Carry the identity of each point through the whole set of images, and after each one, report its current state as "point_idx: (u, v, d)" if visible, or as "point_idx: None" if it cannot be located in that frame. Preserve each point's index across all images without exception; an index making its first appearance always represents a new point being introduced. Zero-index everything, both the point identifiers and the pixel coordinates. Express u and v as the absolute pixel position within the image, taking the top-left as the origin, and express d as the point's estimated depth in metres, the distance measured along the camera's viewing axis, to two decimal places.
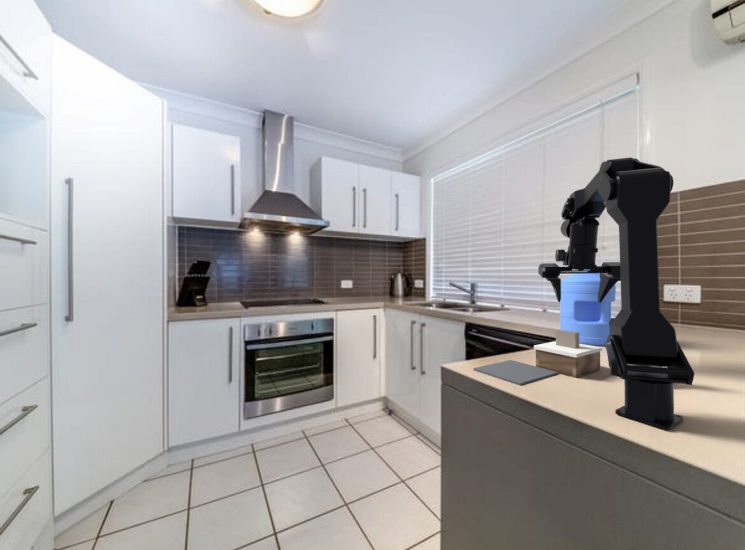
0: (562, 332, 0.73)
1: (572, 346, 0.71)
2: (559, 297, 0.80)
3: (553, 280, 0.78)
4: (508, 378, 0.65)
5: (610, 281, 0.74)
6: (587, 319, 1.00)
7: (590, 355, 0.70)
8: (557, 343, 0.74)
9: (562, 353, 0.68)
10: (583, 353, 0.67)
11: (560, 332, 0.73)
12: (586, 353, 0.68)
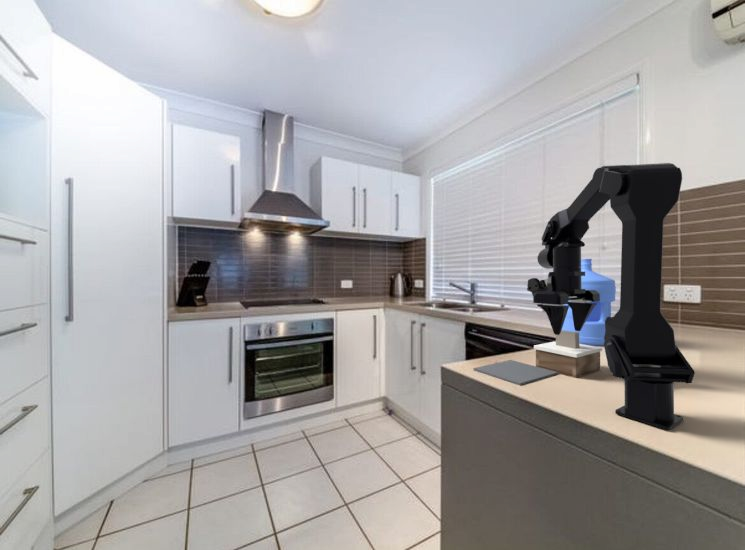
0: (562, 332, 0.73)
1: (572, 346, 0.71)
2: (561, 328, 0.70)
3: (564, 307, 0.67)
4: (508, 378, 0.65)
5: (592, 306, 0.73)
6: (587, 319, 1.00)
7: (590, 355, 0.70)
8: (557, 343, 0.74)
9: (562, 353, 0.68)
10: (583, 353, 0.67)
11: None
12: (586, 353, 0.68)
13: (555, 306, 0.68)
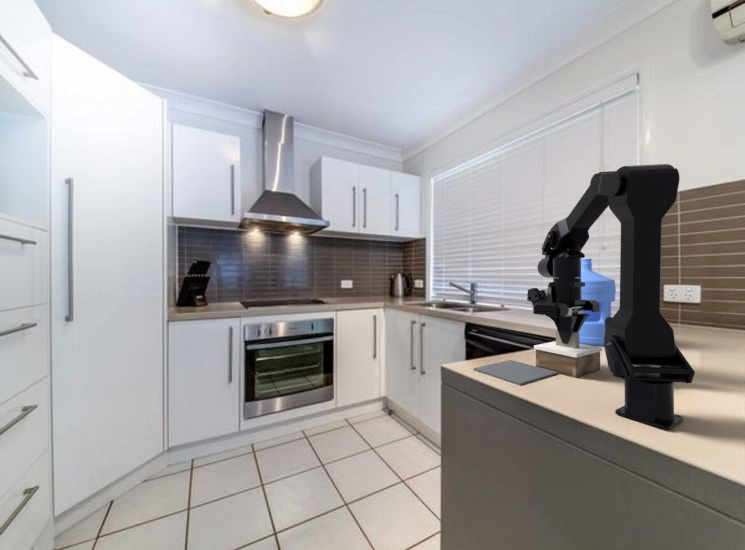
0: None
1: (572, 346, 0.71)
2: (569, 338, 0.71)
3: (573, 317, 0.69)
4: (508, 378, 0.65)
5: (584, 317, 0.72)
6: (587, 319, 1.00)
7: (590, 355, 0.70)
8: (557, 343, 0.74)
9: (562, 353, 0.68)
10: (583, 353, 0.67)
11: None
12: (586, 353, 0.68)
13: (564, 316, 0.69)
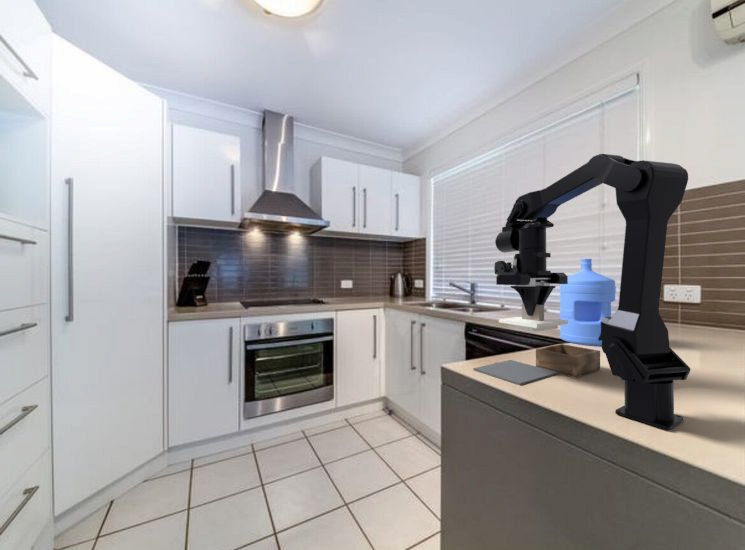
0: None
1: (536, 319, 0.70)
2: (533, 309, 0.70)
3: (535, 287, 0.68)
4: (508, 378, 0.65)
5: (549, 289, 0.70)
6: (587, 319, 1.00)
7: (590, 355, 0.70)
8: (523, 317, 0.73)
9: (524, 324, 0.67)
10: (545, 324, 0.66)
11: None
12: (548, 324, 0.67)
13: (526, 287, 0.68)
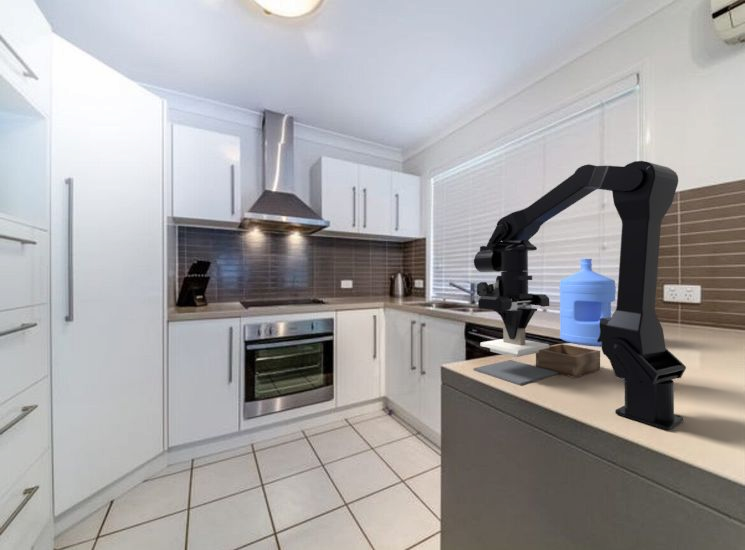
0: None
1: (518, 343, 0.69)
2: (515, 333, 0.69)
3: (517, 312, 0.66)
4: (508, 378, 0.65)
5: (531, 312, 0.69)
6: (587, 319, 1.00)
7: (590, 355, 0.70)
8: (504, 340, 0.72)
9: (505, 350, 0.66)
10: (526, 350, 0.65)
11: None
12: (529, 350, 0.66)
13: (508, 311, 0.67)
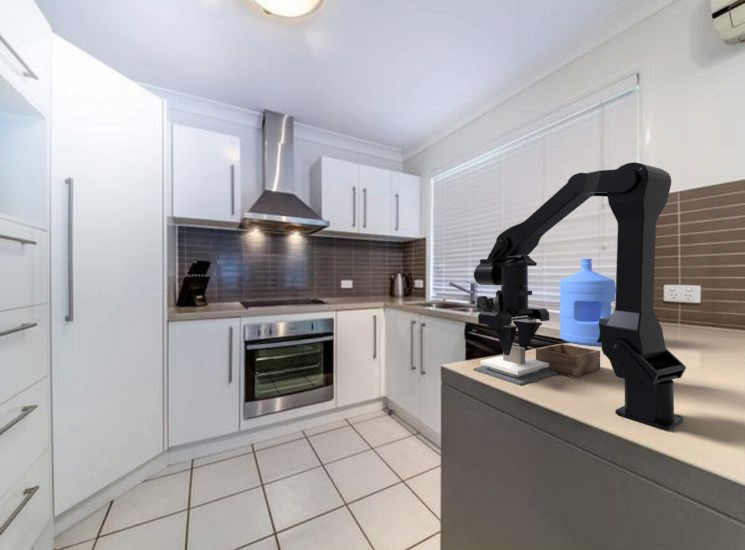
0: None
1: (517, 362, 0.69)
2: (510, 349, 0.68)
3: (512, 328, 0.66)
4: (508, 378, 0.65)
5: (536, 326, 0.70)
6: (587, 319, 1.00)
7: (590, 355, 0.70)
8: (504, 358, 0.72)
9: (505, 370, 0.66)
10: (526, 370, 0.65)
11: None
12: (529, 370, 0.66)
13: (502, 327, 0.66)
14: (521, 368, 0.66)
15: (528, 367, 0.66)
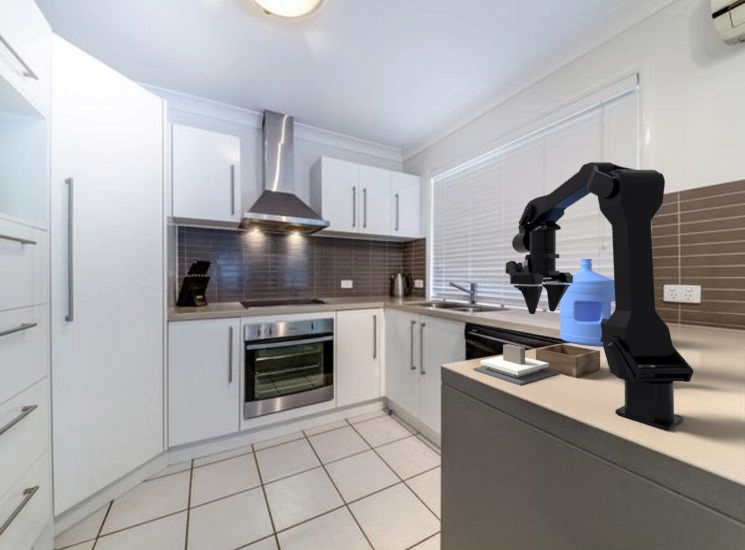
0: (509, 347, 0.71)
1: (517, 362, 0.69)
2: (536, 308, 0.73)
3: (539, 287, 0.70)
4: (508, 378, 0.65)
5: (565, 287, 0.77)
6: (587, 319, 1.00)
7: (590, 355, 0.70)
8: (504, 358, 0.72)
9: (505, 370, 0.66)
10: (526, 370, 0.65)
11: (507, 347, 0.71)
12: (529, 370, 0.66)
13: (530, 286, 0.71)
14: (521, 368, 0.66)
15: (528, 367, 0.66)
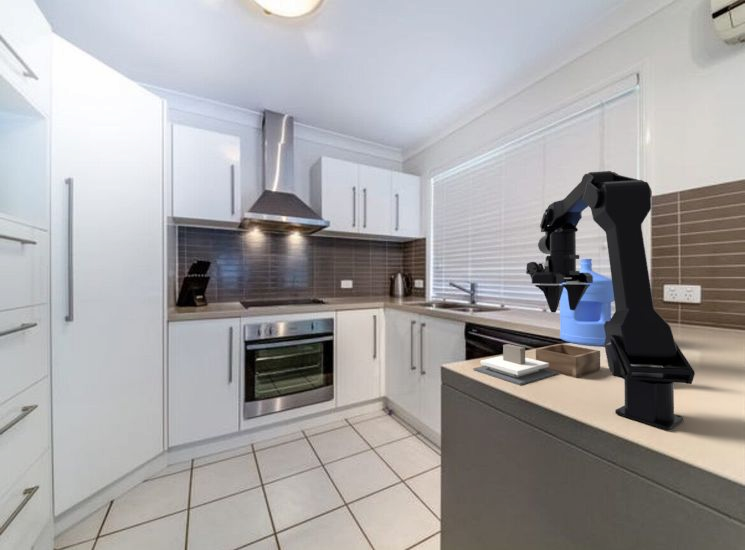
0: (509, 347, 0.71)
1: (517, 362, 0.69)
2: (557, 306, 0.76)
3: (560, 286, 0.74)
4: (508, 378, 0.65)
5: (585, 287, 0.80)
6: (587, 319, 1.00)
7: (590, 355, 0.70)
8: (504, 358, 0.72)
9: (505, 370, 0.66)
10: (526, 370, 0.65)
11: (507, 347, 0.71)
12: (529, 370, 0.66)
13: (551, 286, 0.74)
14: (521, 368, 0.66)
15: (528, 367, 0.66)
